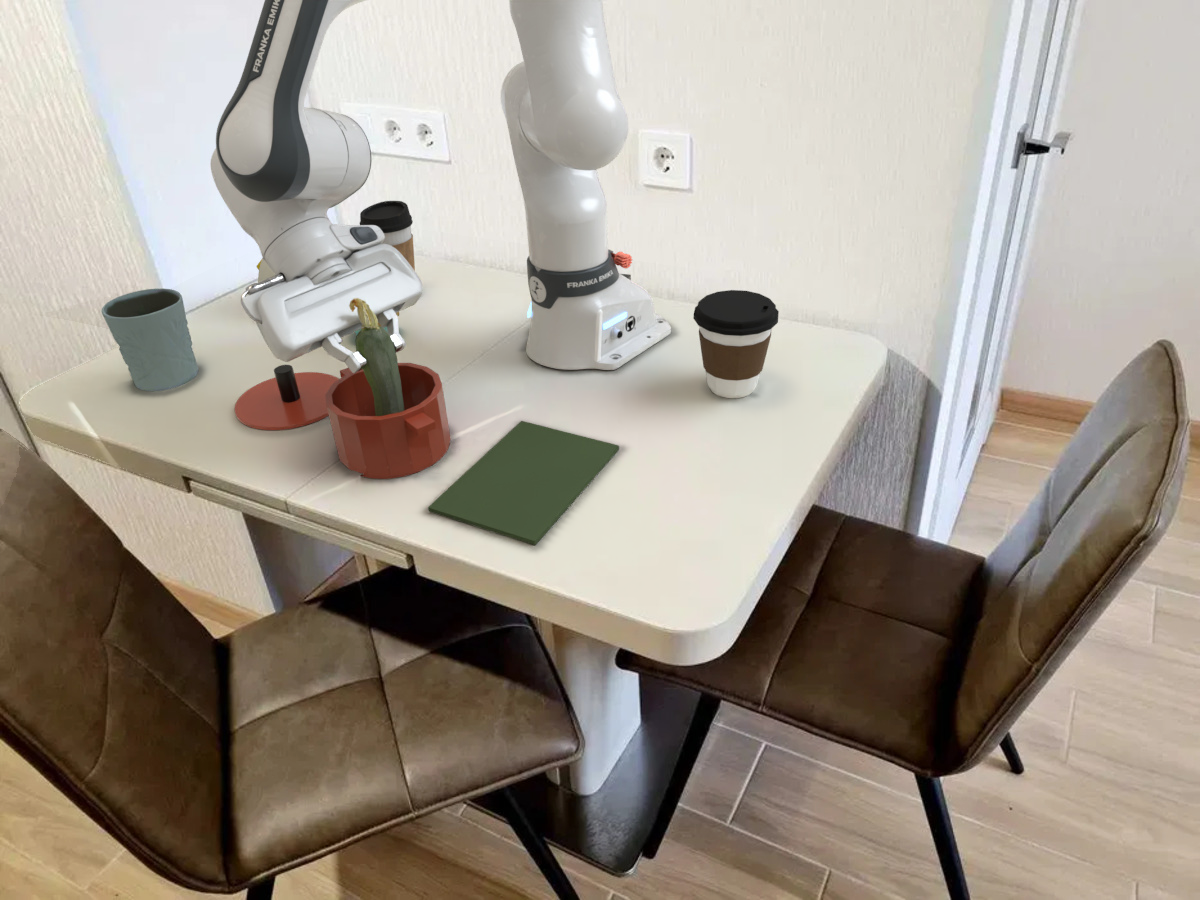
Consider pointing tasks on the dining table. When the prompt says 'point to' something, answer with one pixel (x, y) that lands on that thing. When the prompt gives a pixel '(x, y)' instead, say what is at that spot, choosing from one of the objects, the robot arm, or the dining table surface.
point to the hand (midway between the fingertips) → (380, 359)
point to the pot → (389, 424)
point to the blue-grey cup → (153, 337)
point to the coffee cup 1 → (392, 225)
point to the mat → (525, 481)
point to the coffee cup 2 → (734, 339)
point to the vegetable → (378, 361)
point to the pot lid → (285, 400)
